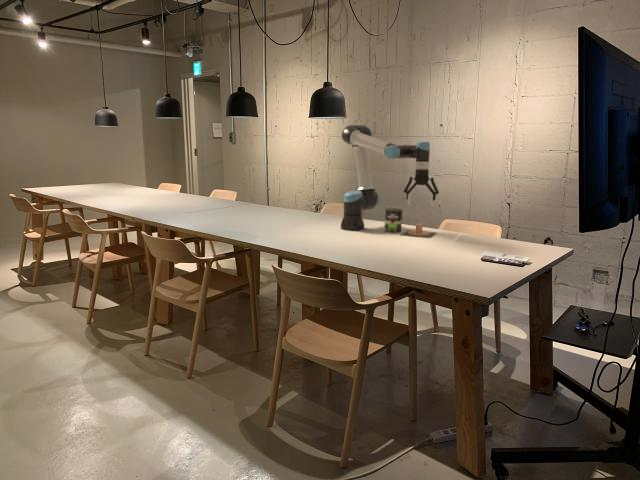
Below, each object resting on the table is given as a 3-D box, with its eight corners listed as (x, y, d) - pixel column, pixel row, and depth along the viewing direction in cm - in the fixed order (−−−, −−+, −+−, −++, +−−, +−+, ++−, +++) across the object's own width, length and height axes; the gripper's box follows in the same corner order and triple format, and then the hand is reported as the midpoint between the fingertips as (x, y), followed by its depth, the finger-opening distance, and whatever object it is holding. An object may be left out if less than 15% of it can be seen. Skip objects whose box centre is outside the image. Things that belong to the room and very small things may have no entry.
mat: (399, 236, 279) (399, 235, 279) (408, 230, 295) (408, 230, 295) (430, 239, 272) (430, 238, 272) (437, 233, 288) (437, 232, 288)
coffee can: (400, 234, 284) (401, 211, 281) (383, 233, 287) (384, 210, 284) (402, 231, 294) (403, 208, 291) (385, 230, 296) (386, 208, 293)
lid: (405, 234, 280) (405, 224, 279) (411, 231, 292) (411, 221, 291) (427, 236, 275) (427, 226, 274) (432, 233, 286) (432, 223, 285)
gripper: (399, 168, 277) (398, 204, 282) (442, 169, 267) (440, 207, 271) (402, 168, 284) (401, 203, 288) (445, 169, 273) (443, 205, 278)
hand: (420, 205), depth 280 cm, fingers open, 13 cm apart
